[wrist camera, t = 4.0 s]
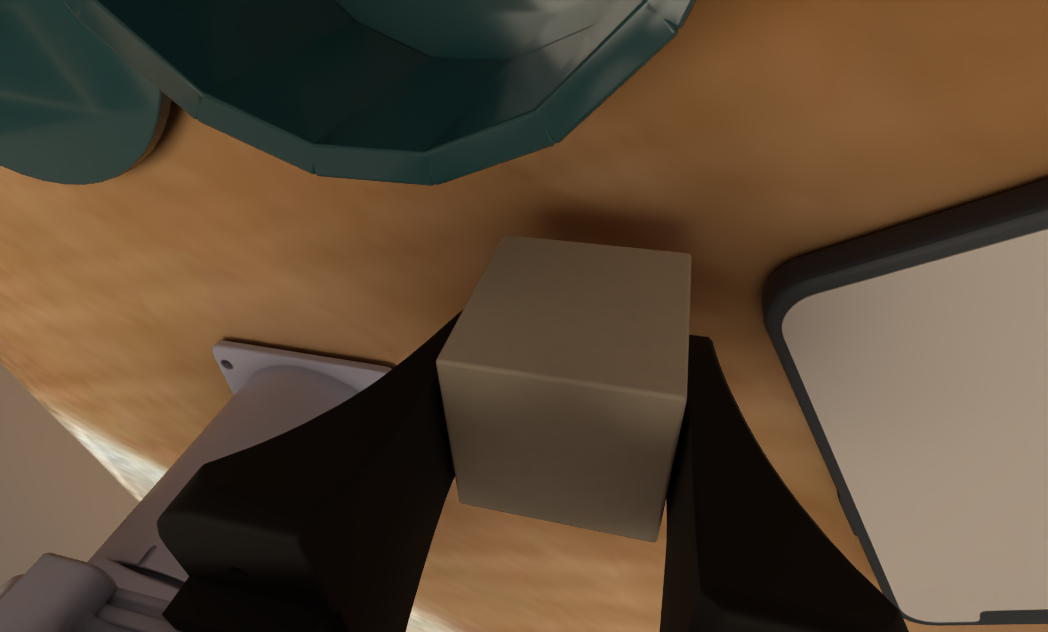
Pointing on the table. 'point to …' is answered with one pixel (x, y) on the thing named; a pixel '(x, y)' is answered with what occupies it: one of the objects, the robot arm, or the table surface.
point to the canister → (388, 73)
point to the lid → (70, 99)
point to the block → (570, 383)
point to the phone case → (933, 401)
